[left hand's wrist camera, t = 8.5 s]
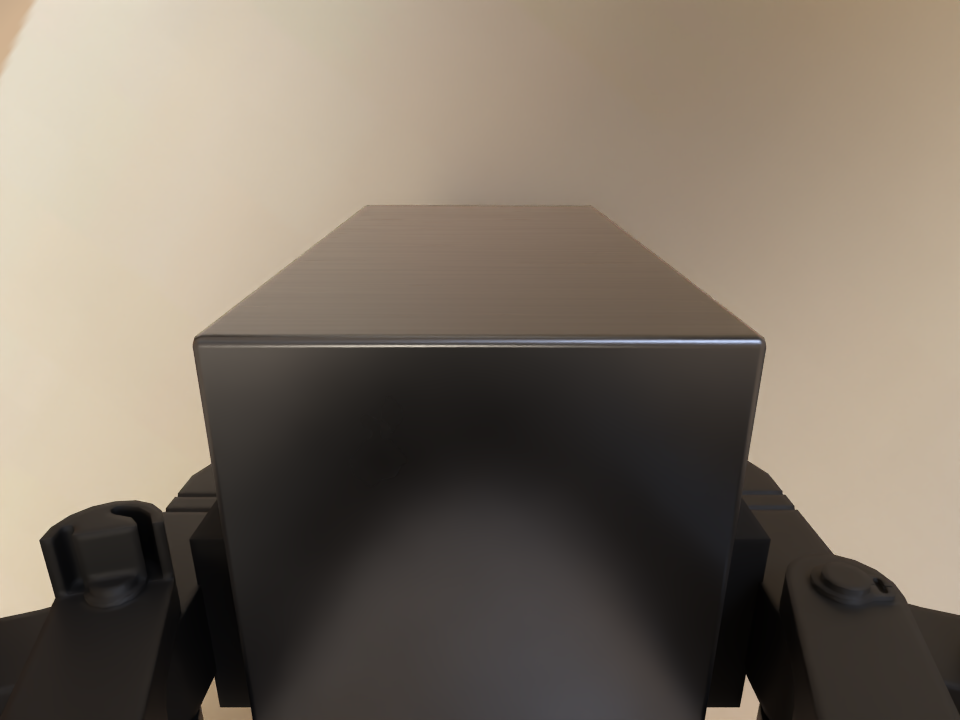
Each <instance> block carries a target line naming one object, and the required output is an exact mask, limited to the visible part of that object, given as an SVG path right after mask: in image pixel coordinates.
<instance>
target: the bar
mask: <svg viewBox="0 0 960 720" xmlns="http://www.w3.org/2000/svg"><path fill="white" fill-rule="evenodd" d="M193 351H194V357H195V363H196V370H197V376H198V382H199V388H200V395H201V401H202V407H203V413H204V419H205V426H206V432H207V438H208V444H209V451H210V457H211V463H212V469H213V475H214V482H215V488H216V494H217V500H218V507H219V513H220V519H221V525H222V531H223V538H224V544H225V550H226V556H227V562H228V569H229V575H230V581H231V587H232V594H233V600H234V606H235V612H236V618H237V625H238V631H239V637H240V643H241V650H242V656H243V662H244V668H245V674H246V681H247V687H248V693H249V699H250V706H251V712H252V718H253V720H705V715H706V708H707V702H708V696H709V690H710V684H711V678H712V672H713V666H714V660H715V654H716V648H717V642H718V636H719V630H720V624H721V618H722V612H723V606H724V599H725V593H726V587H727V581H728V575H729V569H730V563H731V557H732V551H733V545H734V539H735V533H736V527H737V521H738V515H739V509H740V503H741V497H742V490H743V484H744V478H745V472H746V466H747V460H748V454H749V448H750V442H751V436H752V430H753V424H754V418H755V412H756V406H757V400H758V394H759V388H760V382H761V375H762V369H763V363H764V357H765V351H766V343H765V339H764V337H762V336H761V335H760V334H758V333H757V332H756V331H755V330H753V329H752V328H751V327H749V326H748V325H747V324H745V323H744V322H743V321H742V320H740V319H739V318H738V317H736V316H735V315H734V314H732V313H731V312H730V311H728V310H727V309H726V308H725V307H723V306H722V305H721V304H719V303H718V302H717V301H715V300H714V299H713V298H712V297H710V296H709V295H708V294H706V293H705V292H704V291H702V290H701V289H700V288H698V287H697V286H696V285H695V284H693V283H692V282H691V281H689V280H688V279H687V278H685V277H684V276H683V275H682V274H680V273H679V272H678V271H676V270H675V269H674V268H672V267H671V266H670V265H668V264H667V263H666V262H665V261H663V260H662V259H661V258H659V257H658V256H657V255H655V254H654V253H653V252H652V251H650V250H649V249H648V248H646V247H645V246H644V245H642V244H641V243H640V242H638V241H637V240H636V239H635V238H633V237H632V236H631V235H629V234H628V233H627V232H625V231H624V230H623V229H622V228H620V227H619V226H618V225H616V224H615V223H614V222H612V221H611V220H610V219H608V218H607V217H606V216H605V215H603V214H602V213H601V212H599V211H598V210H597V209H595V208H594V207H592V206H501V205H367V206H365V207H363V208H362V209H361V210H359V211H358V212H357V213H355V214H354V215H353V216H352V217H350V218H349V219H348V220H346V221H345V222H344V223H342V224H341V225H340V226H339V227H337V228H336V229H335V230H333V231H332V232H331V233H329V234H328V235H327V236H326V237H324V238H323V239H322V240H320V241H319V242H318V243H316V244H315V245H314V246H313V247H311V248H310V249H309V250H307V251H306V252H305V253H303V254H302V255H301V256H300V257H298V258H297V259H296V260H294V261H293V262H292V263H290V264H289V265H288V266H286V267H285V268H284V269H283V270H281V271H280V272H279V273H277V274H276V275H275V276H273V277H272V278H271V279H270V280H268V281H267V282H266V283H264V284H263V285H262V286H260V287H259V288H258V289H257V290H255V291H254V292H253V293H251V294H250V295H249V296H247V297H246V298H245V299H244V300H242V301H241V302H240V303H238V304H237V305H236V306H234V307H233V308H232V309H231V310H229V311H228V312H227V313H225V314H224V315H223V316H221V317H220V318H219V319H218V320H216V321H215V322H214V323H212V324H211V325H210V326H208V327H207V328H206V329H204V330H203V331H202V332H201V333H199V334H198V335H197V336H195V338H194V342H193Z"/></svg>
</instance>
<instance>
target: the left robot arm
mask: <svg viewBox="0 0 960 720" xmlns="http://www.w3.org/2000/svg"><path fill="white" fill-rule="evenodd" d="M39 541H40V544H41V548H42V552H43V555H44V559H45V562H46V566H47V569H48V573H49V577H50V580H51V584H52V587H53V591H54V594H55V600H54V602H53V604H52V607H49V608H45V609H41V610H37V611H33V612H28V613H23V614H18V615H13V616H9V617H4V618H0V720H203V715H202V710H201V704H202V701H203V699H204V697H205V695H206V693H207V691H208V689H209V687H210V685H211V683H212V680H213V678H214V676H215V682H216V687H217V693H218V698H219V703H220V707H251V706H250V699H249V693H248V687H247V681H246V674H245V668H244V662H243V656H242V650H241V643H240V637H239V631H238V625H237V618H236V612H235V606H234V600H233V594H232V587H231V581H230V575H229V569H228V562H227V556H226V550H225V544H224V538H223V531H222V525H221V519H220V513H219V507H218V500H217V494H216V488H215V482H214V475H213V469H212V464H210V465H209V466H207V467H206V468H204V469H202V470H201V471H199V472H198V473H196V474H194V475H193V476H192V477H191V478H190V479H189V481H188V482H187V483H186V484H185V485H184V487H183V488H182V489H181V490H180V492H179V493H178V497H175V498H174V499H173V500H172V502H171V503H170V504H169V505H168V507H167V508H166V512H163V513H162V511H161V510H160V509H159V508H157V507H156V506H155V505H153V504H151V503H146V502H141V501H136V500H135V501H115V502H110V503H106V504H102V505H97V506H93V507H90V508H87V509H85V510H82V511H80V512H77V513H75V514H72V515H70V516H68V517H67V518H65V519H64V520H62V521H60V522H59V523H57V524H56V525H54V526H52V527H51V528H50V529H49V530H48V531H47V532H46V534H45V535H44V536H43V537H42V538H41V539H40V540H39ZM746 675H747V677H748V679H749V681H750V683H751V686H752V688H753V690H754V692H755V694H756V696H757V698H758V700H759V702H760V704H759V710H758V715H757V720H960V615H956V614H951V613H946V612H941V611H937V610H932V609H927V608H922V607H918V606H915V605H911V604H908V603H907V601H906V599H905V597H904V596H903V594H902V593H901V592H900V590H899V589H898V588H897V586H896V585H895V584H894V583H893V582H892V581H890V580H889V579H888V578H886V577H885V576H884V575H882V574H881V573H880V572H878V571H877V570H875V569H873V568H871V567H869V566H866V565H864V564H862V563H860V562H858V561H856V560H852V559H848V558H844V557H841V556H837V555H834V554H833V553H832V552H831V551H830V549H829V548H828V547H827V546H826V544H825V543H824V542H823V541H822V539H821V538H820V537H819V536H818V535H817V533H816V532H815V531H814V530H813V528H812V527H811V526H810V525H809V523H808V522H807V521H806V520H805V519H804V517H803V516H802V515H801V514H800V512H799V511H798V510H795V509H794V505H793V504H792V503H791V501H790V500H789V499H788V498H787V496H786V495H783V494H782V490H781V489H780V488H779V487H778V485H777V484H776V483H775V482H774V480H773V479H772V478H771V477H770V475H769V474H768V473H766V472H765V471H763V470H761V469H760V468H758V467H757V466H755V465H753V464H752V463H750V462H749V461H747V466H746V472H745V478H744V484H743V490H742V497H741V503H740V509H739V515H738V521H737V527H736V533H735V539H734V545H733V551H732V557H731V563H730V569H729V575H728V581H727V587H726V593H725V599H724V606H723V612H722V618H721V624H720V630H719V636H718V642H717V648H716V654H715V660H714V666H713V672H712V678H711V684H710V690H709V696H708V702H707V707H740V703H741V698H742V692H743V687H744V682H745V676H746Z"/></svg>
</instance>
